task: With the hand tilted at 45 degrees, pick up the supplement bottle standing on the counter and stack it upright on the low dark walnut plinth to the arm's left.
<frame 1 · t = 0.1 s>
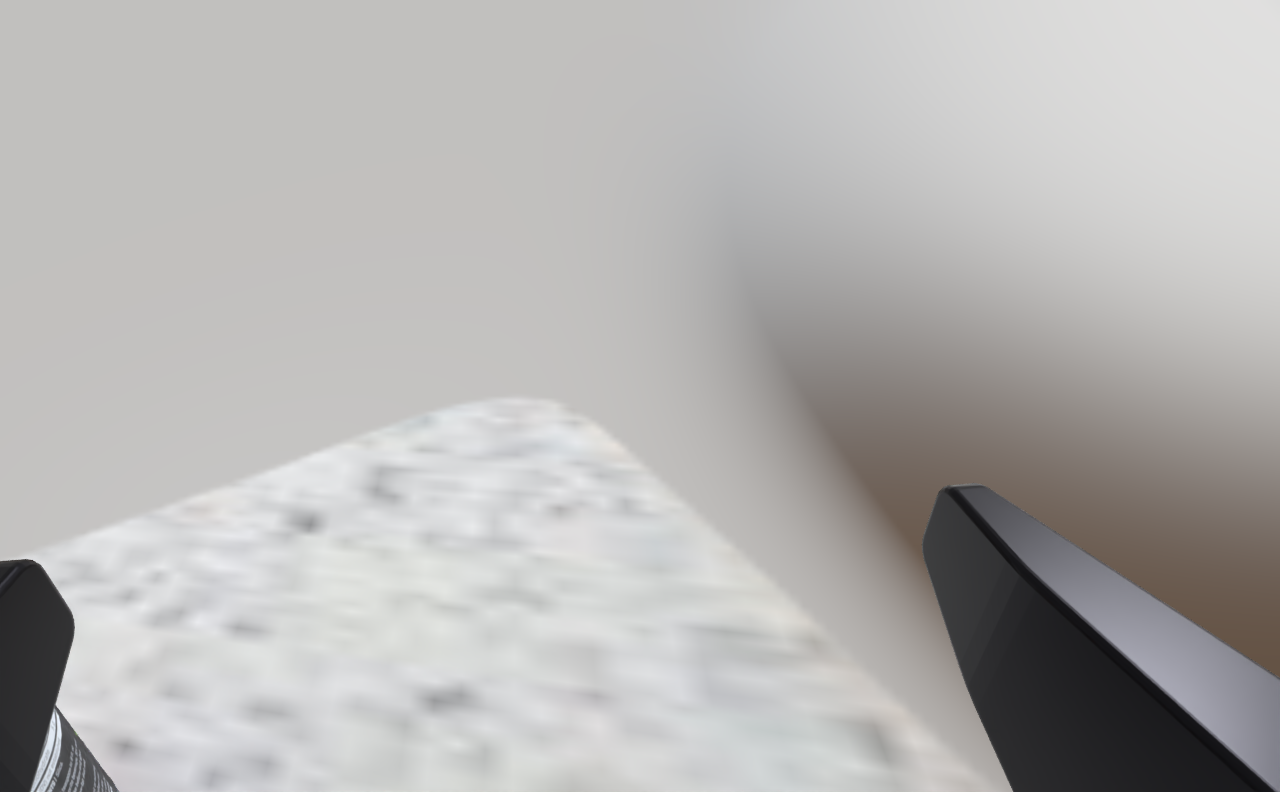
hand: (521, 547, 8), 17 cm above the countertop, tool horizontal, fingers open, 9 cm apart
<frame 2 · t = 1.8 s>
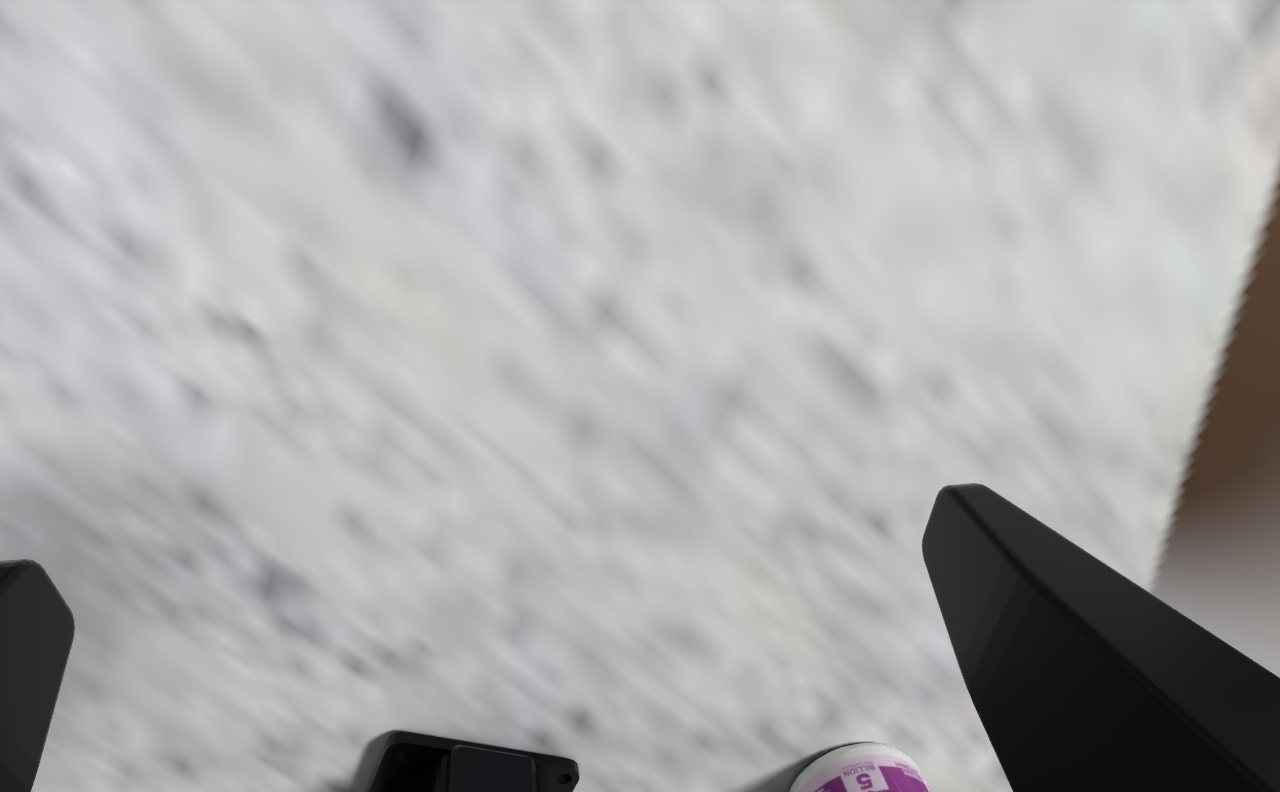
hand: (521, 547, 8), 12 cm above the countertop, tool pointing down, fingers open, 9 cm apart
pill bottle: (846, 780, 30), on the countertop
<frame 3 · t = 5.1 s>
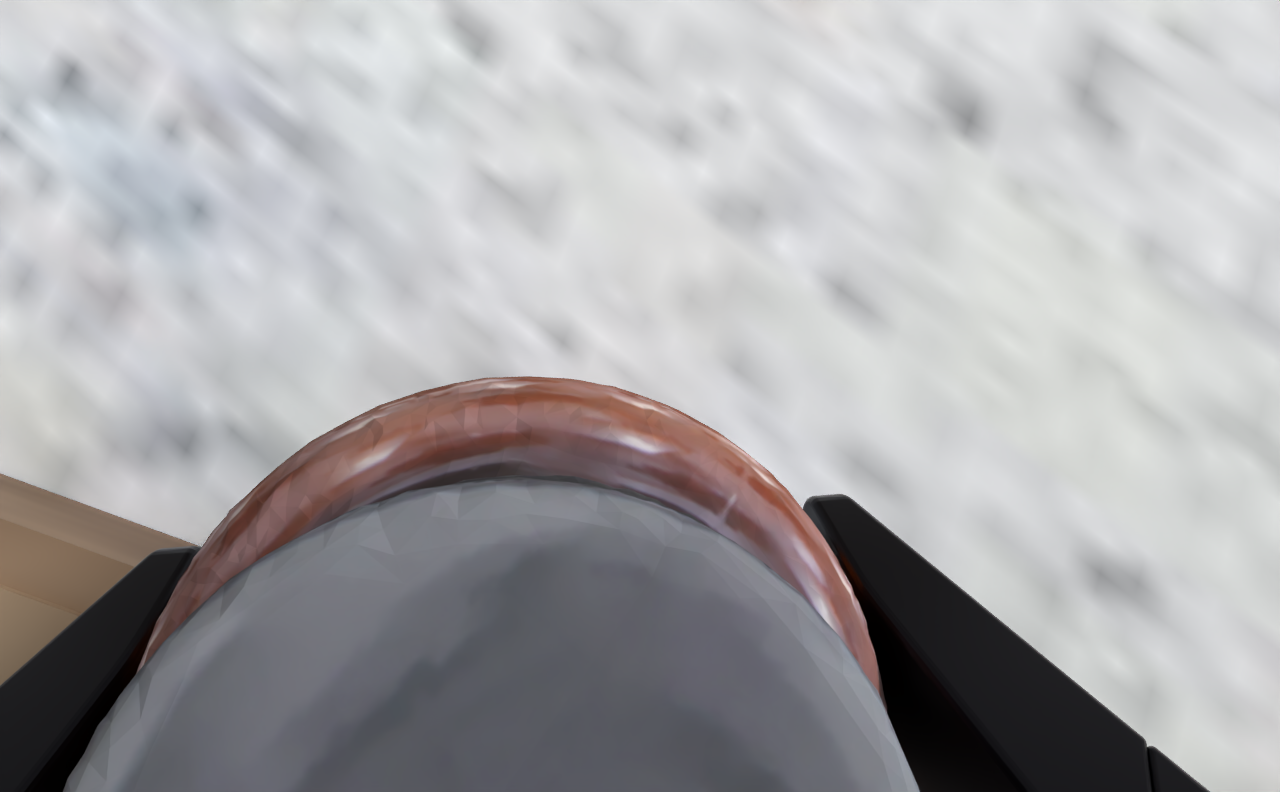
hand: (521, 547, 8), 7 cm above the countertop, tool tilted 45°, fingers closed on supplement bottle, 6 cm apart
supplement bottle: (538, 607, 15), on the countertop, touching gripper
when the fingers open (11 cm above the countertop, at t = 8.1 s): supplement bottle stays where it is, resting on walnut plinth.
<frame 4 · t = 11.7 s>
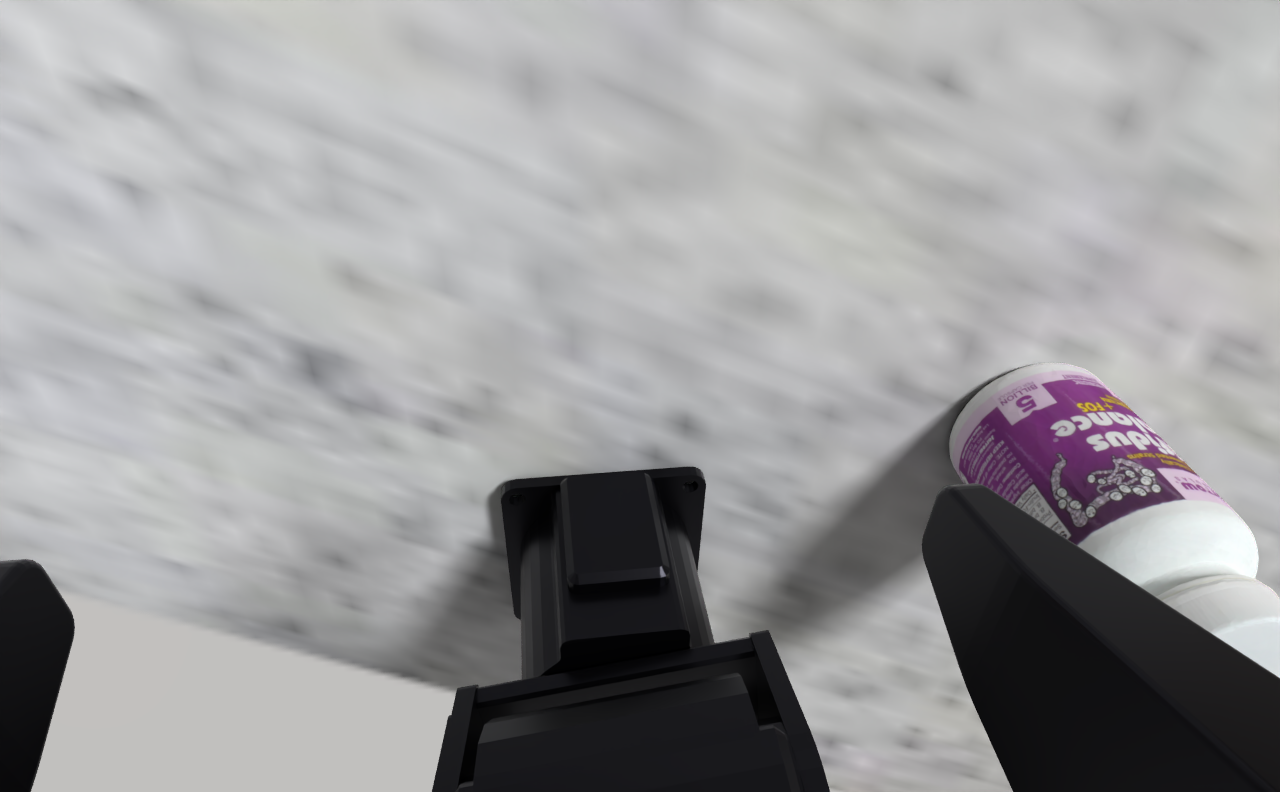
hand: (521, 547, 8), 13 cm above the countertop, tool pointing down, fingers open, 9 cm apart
pill bottle: (1017, 417, 26), on the countertop
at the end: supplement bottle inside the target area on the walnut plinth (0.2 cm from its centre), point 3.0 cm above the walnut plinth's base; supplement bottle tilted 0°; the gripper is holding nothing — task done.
